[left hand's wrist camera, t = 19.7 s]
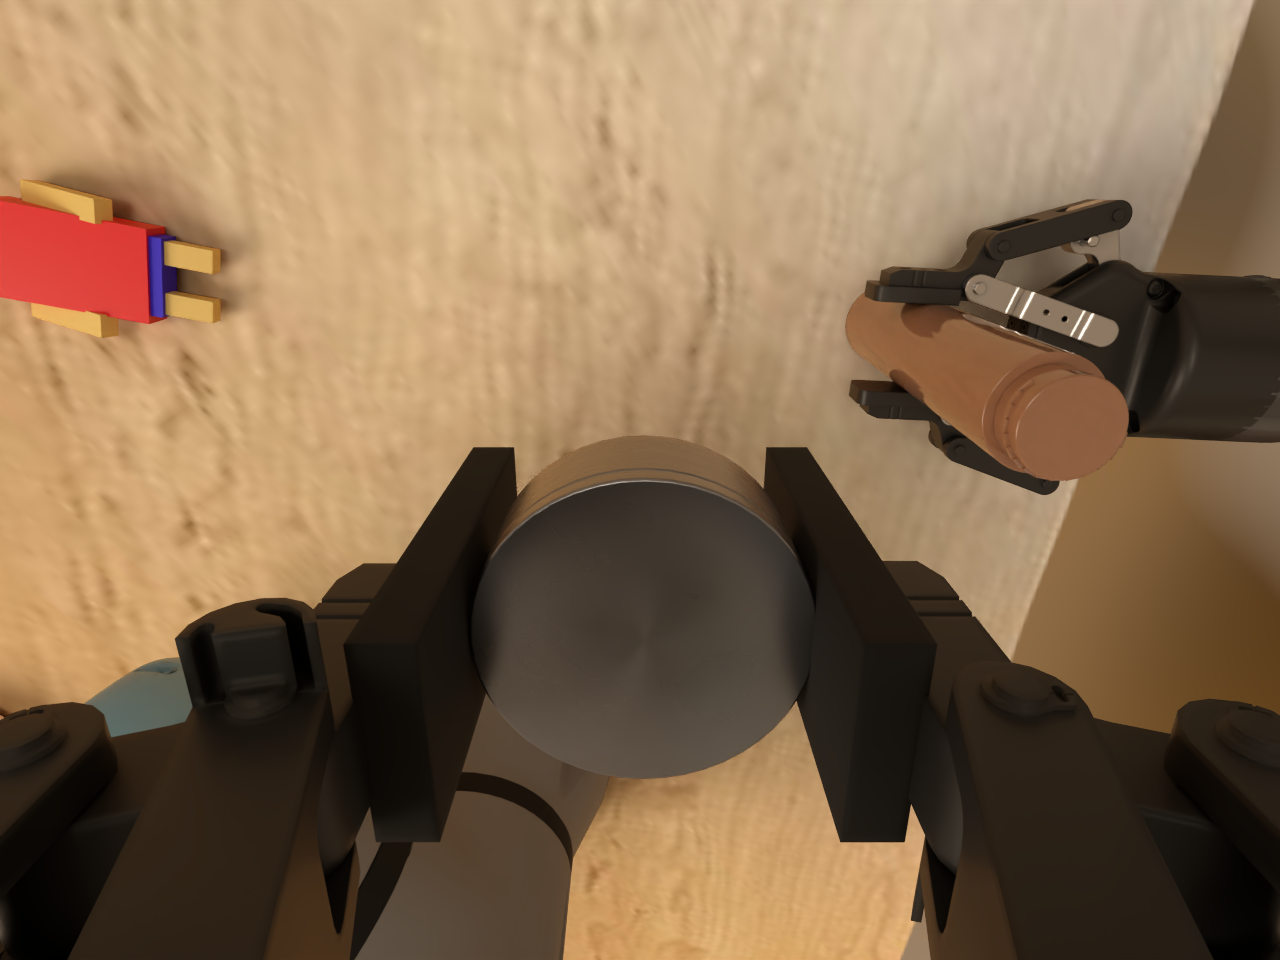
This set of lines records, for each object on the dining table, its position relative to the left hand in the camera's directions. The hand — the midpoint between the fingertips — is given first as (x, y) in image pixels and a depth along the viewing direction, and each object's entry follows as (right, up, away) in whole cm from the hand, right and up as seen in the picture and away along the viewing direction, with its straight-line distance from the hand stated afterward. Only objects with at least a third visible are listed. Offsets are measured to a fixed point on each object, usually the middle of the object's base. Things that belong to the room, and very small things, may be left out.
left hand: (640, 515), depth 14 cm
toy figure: (-28, +12, +25) cm, 40 cm away
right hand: (+10, +7, +20) cm, 24 cm away
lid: (0, -1, -4) cm, 4 cm away
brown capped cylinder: (+13, +9, +26) cm, 31 cm away
